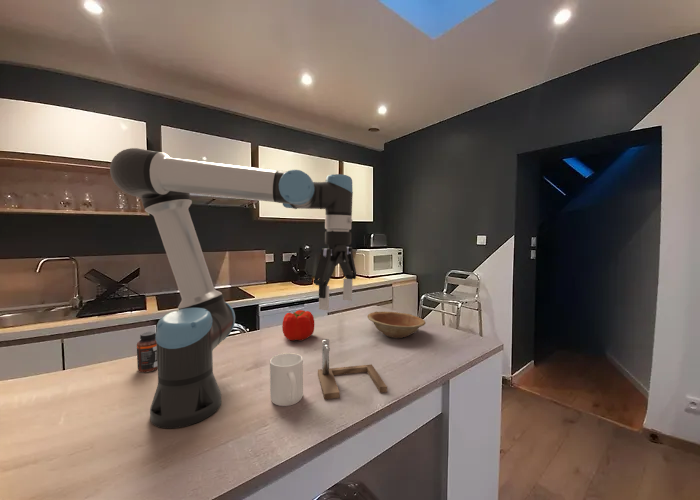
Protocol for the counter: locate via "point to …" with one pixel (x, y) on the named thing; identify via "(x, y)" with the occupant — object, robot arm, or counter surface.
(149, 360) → the supplement bottle
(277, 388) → the mug
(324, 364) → the hook post
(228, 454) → the counter surface
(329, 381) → the brown wooden u-shaped piece
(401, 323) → the bowl
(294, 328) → the red lobed round piece
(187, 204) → the robot arm
